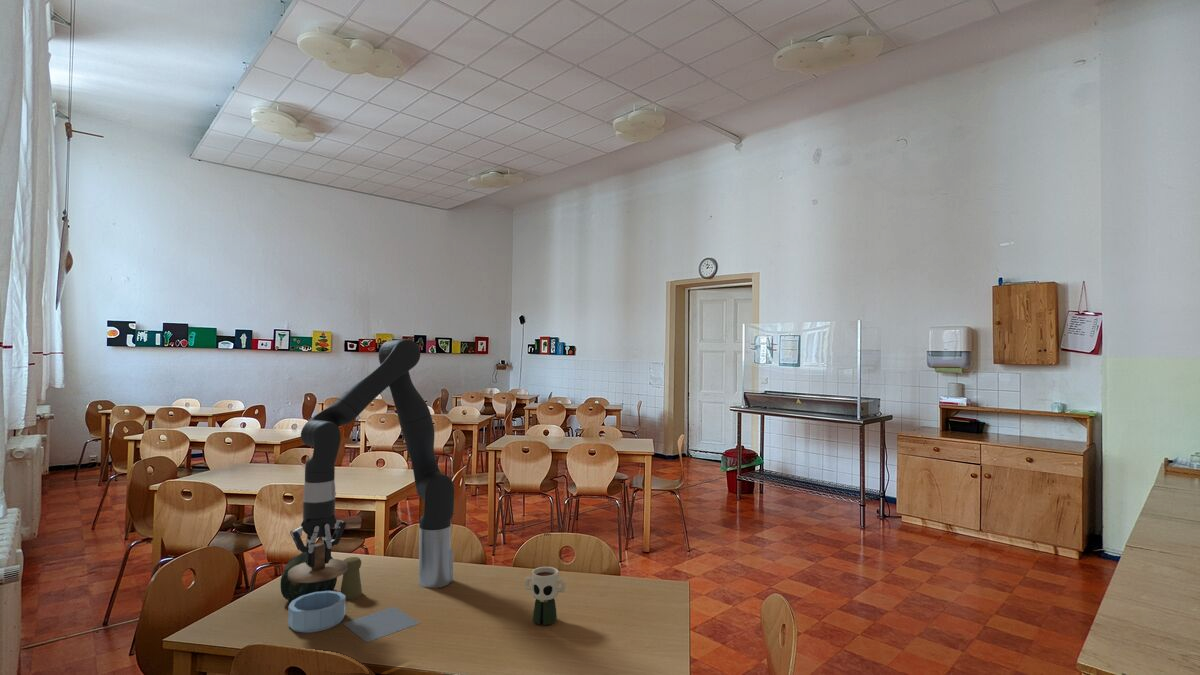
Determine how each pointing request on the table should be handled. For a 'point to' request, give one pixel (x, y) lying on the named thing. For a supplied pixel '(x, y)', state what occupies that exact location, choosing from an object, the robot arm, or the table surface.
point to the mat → (380, 624)
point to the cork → (352, 579)
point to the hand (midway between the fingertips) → (318, 564)
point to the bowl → (316, 611)
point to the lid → (318, 568)
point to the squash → (296, 589)
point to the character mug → (545, 593)
